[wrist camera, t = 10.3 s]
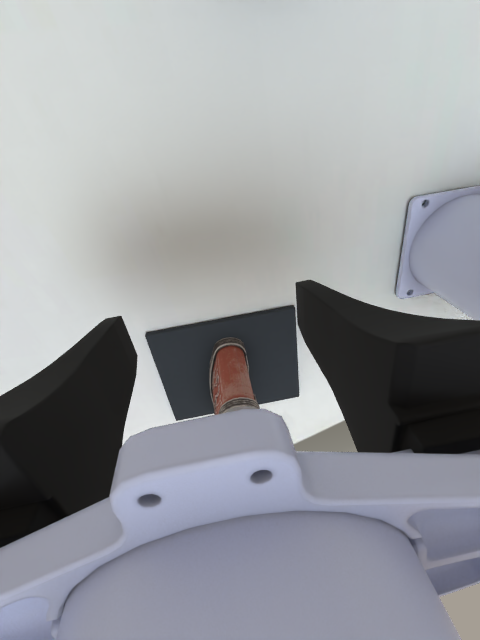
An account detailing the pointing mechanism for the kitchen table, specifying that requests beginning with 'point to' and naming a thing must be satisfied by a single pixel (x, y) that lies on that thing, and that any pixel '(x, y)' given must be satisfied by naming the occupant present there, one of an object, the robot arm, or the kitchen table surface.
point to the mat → (196, 350)
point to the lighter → (230, 377)
